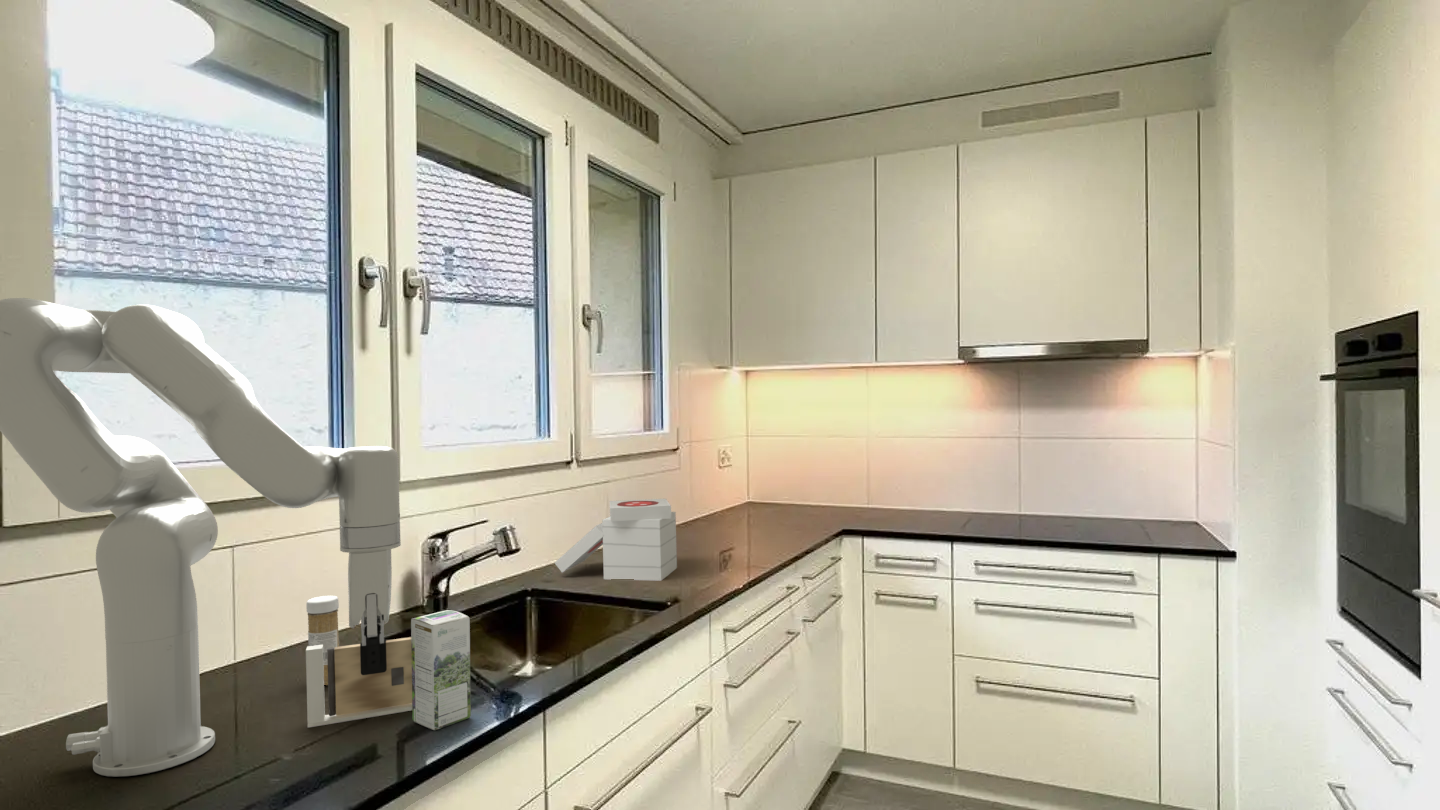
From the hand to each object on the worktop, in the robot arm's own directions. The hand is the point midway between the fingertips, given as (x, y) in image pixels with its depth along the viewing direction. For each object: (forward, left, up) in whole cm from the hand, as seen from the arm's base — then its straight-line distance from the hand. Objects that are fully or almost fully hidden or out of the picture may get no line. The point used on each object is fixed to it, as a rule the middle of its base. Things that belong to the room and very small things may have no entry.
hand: (373, 671), depth 107 cm
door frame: (0, +5, -8) cm, 9 cm away
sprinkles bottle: (-7, +23, -8) cm, 26 cm away
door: (0, +5, -7) cm, 9 cm away
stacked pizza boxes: (+58, +78, -8) cm, 98 cm away
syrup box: (+9, -2, -8) cm, 12 cm away
